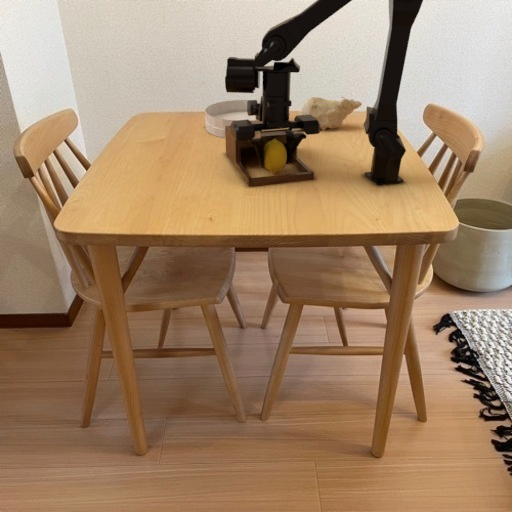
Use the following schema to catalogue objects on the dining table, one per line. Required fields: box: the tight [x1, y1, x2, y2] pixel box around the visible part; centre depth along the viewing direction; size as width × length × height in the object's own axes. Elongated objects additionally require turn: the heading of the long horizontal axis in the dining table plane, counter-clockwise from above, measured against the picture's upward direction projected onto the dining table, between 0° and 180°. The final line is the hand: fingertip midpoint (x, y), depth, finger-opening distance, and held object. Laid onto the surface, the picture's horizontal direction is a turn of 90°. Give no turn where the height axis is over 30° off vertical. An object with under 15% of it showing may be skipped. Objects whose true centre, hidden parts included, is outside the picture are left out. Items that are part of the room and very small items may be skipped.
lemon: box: [263, 139, 287, 175], centre depth 106 cm, size 6×6×8 cm
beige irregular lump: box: [300, 96, 363, 131], centre depth 136 cm, size 15×7×15 cm
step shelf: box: [225, 123, 315, 187], centre depth 111 cm, size 21×15×7 cm
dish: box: [204, 99, 262, 139], centre depth 137 cm, size 22×22×5 cm
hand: (274, 165), depth 107 cm, fingers closed on lemon, 5 cm apart
